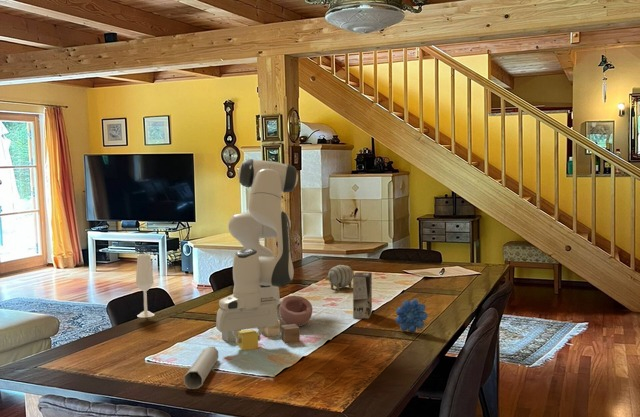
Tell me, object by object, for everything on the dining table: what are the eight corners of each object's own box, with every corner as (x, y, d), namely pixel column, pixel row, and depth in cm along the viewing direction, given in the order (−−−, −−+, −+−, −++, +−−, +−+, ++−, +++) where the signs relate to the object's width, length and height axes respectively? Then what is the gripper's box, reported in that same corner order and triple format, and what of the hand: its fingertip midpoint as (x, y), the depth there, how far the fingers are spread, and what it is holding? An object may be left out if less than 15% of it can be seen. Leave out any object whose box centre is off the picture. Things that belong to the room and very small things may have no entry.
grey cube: (222, 338, 216) (221, 324, 215) (235, 336, 218) (235, 322, 218) (227, 342, 212) (227, 327, 211) (241, 340, 214) (241, 325, 214)
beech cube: (260, 333, 222) (260, 319, 221) (272, 331, 225) (272, 317, 224) (267, 336, 218) (267, 322, 217) (280, 334, 220) (279, 320, 220)
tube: (200, 346, 194) (180, 374, 169) (217, 341, 194) (199, 368, 169) (206, 363, 195) (187, 392, 170) (223, 357, 194) (205, 386, 169)
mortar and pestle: (287, 332, 223) (287, 300, 222) (274, 324, 233) (273, 293, 232) (318, 327, 228) (317, 296, 227) (303, 320, 239) (303, 290, 238)
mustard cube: (238, 346, 207) (238, 331, 207) (252, 343, 209) (252, 329, 209) (243, 350, 203) (243, 334, 202) (258, 348, 205) (257, 332, 204)
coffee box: (369, 318, 240) (369, 276, 239) (352, 318, 241) (352, 276, 240) (372, 312, 249) (372, 272, 247) (356, 312, 250) (355, 271, 249)
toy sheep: (360, 287, 296) (360, 264, 295) (335, 293, 285) (335, 268, 284) (344, 284, 304) (344, 261, 303) (319, 289, 292) (318, 266, 291)
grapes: (431, 331, 222) (431, 297, 221) (425, 336, 216) (425, 301, 215) (399, 327, 227) (399, 294, 226) (393, 332, 221) (393, 298, 220)
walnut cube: (281, 339, 214) (281, 325, 214) (295, 338, 216) (295, 323, 215) (285, 343, 209) (284, 329, 209) (299, 342, 211) (299, 327, 210)
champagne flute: (158, 314, 250) (156, 254, 248) (146, 318, 244) (144, 256, 242) (144, 312, 253) (142, 253, 251) (133, 316, 247) (131, 255, 245)
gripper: (273, 294, 212) (274, 335, 213) (214, 301, 203) (215, 343, 204) (280, 298, 206) (281, 339, 207) (219, 305, 197) (220, 348, 199)
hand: (248, 341), depth 206 cm, fingers closed on mustard cube, 5 cm apart
